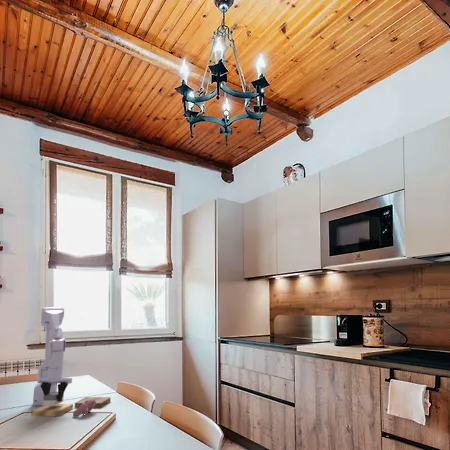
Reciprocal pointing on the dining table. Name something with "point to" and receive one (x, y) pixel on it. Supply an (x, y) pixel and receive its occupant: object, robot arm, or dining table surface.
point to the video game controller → (85, 407)
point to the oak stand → (52, 410)
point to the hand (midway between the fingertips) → (53, 401)
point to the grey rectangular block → (51, 399)
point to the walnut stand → (99, 400)
